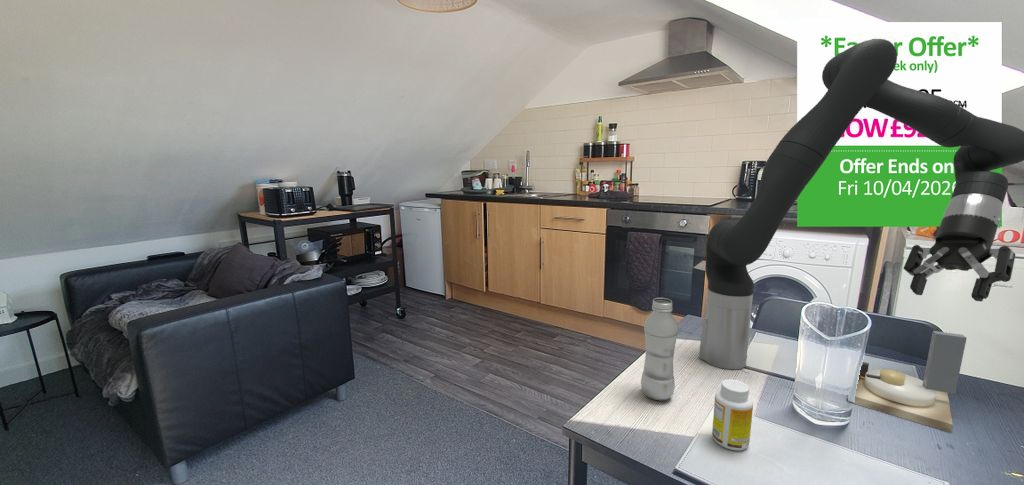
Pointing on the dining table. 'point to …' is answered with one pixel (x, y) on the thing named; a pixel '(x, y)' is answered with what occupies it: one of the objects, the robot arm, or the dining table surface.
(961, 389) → the dining table surface
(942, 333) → the dial
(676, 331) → the plastic bottle
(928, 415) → the level stand
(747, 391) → the supplement bottle
